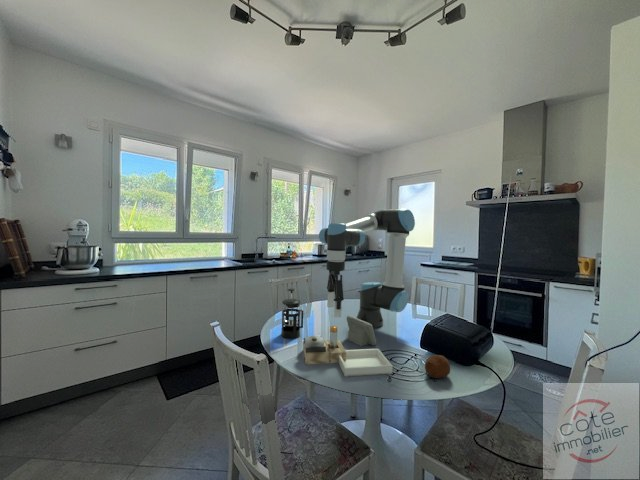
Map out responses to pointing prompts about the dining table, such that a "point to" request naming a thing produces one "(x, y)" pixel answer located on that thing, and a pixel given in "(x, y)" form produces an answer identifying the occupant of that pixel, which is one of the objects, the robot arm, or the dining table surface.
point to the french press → (290, 326)
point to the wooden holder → (321, 351)
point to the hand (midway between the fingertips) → (333, 311)
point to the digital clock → (360, 332)
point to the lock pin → (333, 337)
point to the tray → (365, 363)
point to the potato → (437, 366)
